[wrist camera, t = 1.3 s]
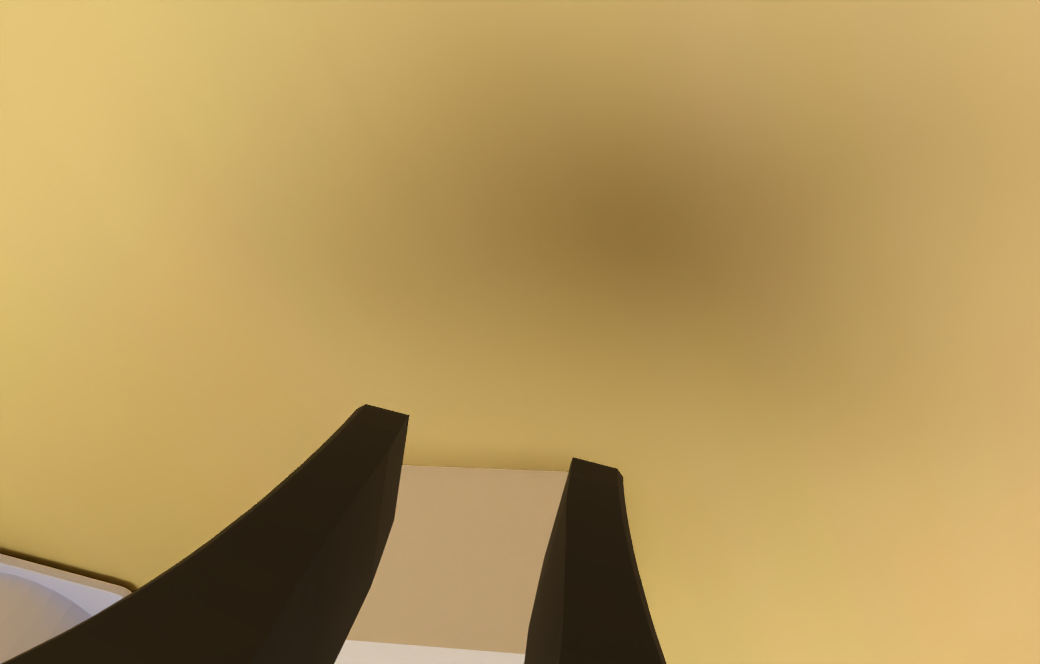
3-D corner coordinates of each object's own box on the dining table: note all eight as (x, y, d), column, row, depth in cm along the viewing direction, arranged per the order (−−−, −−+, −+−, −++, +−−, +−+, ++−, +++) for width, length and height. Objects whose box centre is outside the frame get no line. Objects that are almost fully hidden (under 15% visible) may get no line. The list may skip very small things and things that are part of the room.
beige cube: (408, 606, 29) (344, 787, 25) (372, 461, 26) (290, 635, 21) (599, 620, 28) (572, 814, 23) (585, 469, 25) (551, 656, 20)
